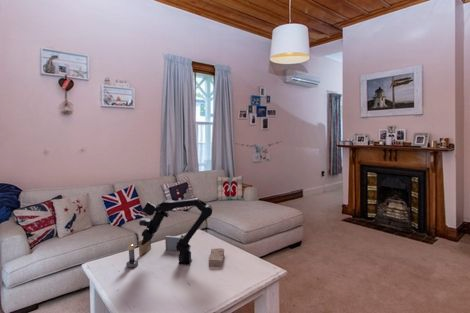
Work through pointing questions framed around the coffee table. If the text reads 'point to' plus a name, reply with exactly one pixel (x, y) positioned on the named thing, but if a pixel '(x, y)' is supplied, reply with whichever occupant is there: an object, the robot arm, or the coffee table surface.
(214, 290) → the coffee table surface
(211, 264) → the brick
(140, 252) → the door
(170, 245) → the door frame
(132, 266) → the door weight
